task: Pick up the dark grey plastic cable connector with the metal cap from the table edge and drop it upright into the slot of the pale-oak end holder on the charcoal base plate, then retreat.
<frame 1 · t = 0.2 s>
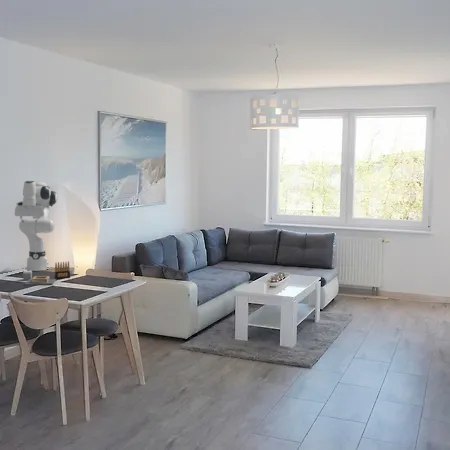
hand: (29, 222, 423), 39 cm above the table, tool pointing down, fingers open, 8 cm apart
connector: (27, 279, 414), on the table
end holder: (40, 282, 405), on the table
ammunition clip: (62, 278, 421), on the table
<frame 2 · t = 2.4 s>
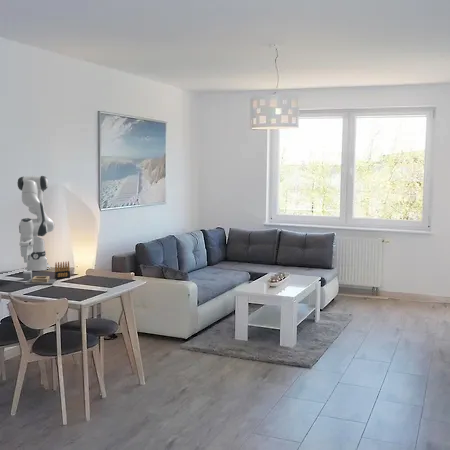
hand: (27, 261, 412), 13 cm above the table, tool pointing down, fingers open, 8 cm apart
nothing on the table moved.
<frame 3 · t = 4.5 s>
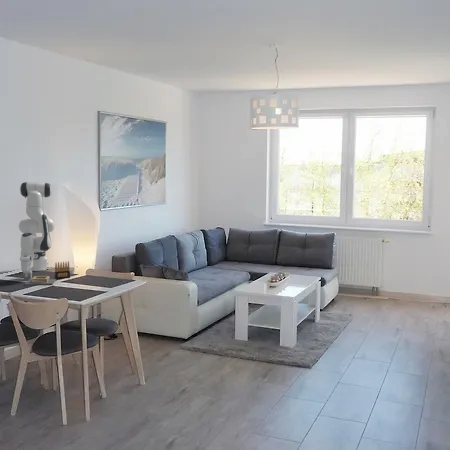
hand: (27, 275, 414), 3 cm above the table, tool pointing down, fingers closed on connector, 4 cm apart
connector: (27, 279, 414), on the table, touching gripper
everything else where it was.
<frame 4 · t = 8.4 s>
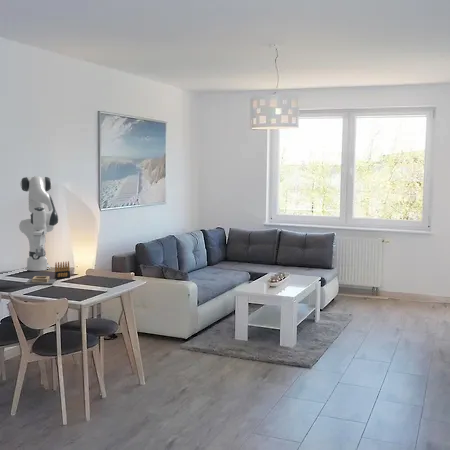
hand: (40, 251, 403), 22 cm above the table, tool pointing down, fingers closed on connector, 4 cm apart
connector: (40, 255, 403), point 19 cm above the table, touching gripper
everything else where it was.
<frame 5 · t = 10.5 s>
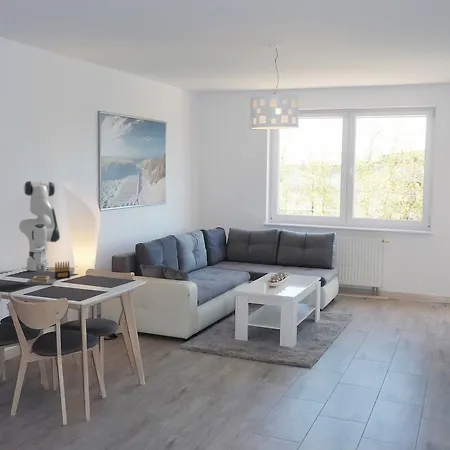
hand: (40, 268, 404), 10 cm above the table, tool pointing down, fingers closed on connector, 4 cm apart
connector: (40, 271, 404), point 8 cm above the table, touching gripper
everything else where it was.
when the fingers open (5 cm above the table, at t = 12.3 s): connector drops 1 cm, resting on end holder.
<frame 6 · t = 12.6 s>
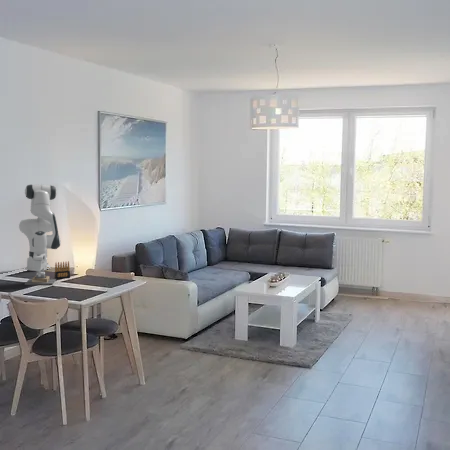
hand: (40, 275, 405), 5 cm above the table, tool pointing down, fingers open, 7 cm apart
connector: (40, 281, 405), point 1 cm above the table, touching end holder
everything else where it was.
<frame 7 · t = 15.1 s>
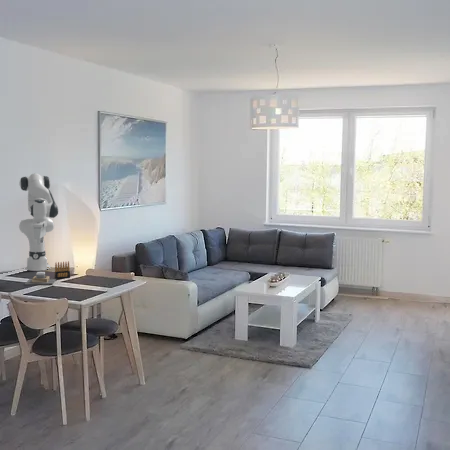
hand: (40, 243, 402), 27 cm above the table, tool pointing down, fingers open, 8 cm apart
nothing on the table moved.
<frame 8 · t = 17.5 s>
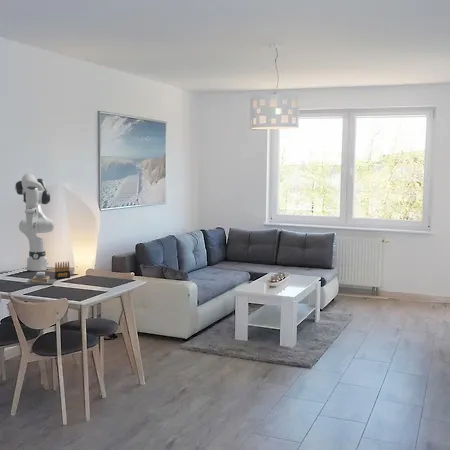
hand: (32, 229, 414), 35 cm above the table, tool pointing down, fingers open, 8 cm apart
nothing on the table moved.
at the end: connector 0.1 cm off-centre on the end holder, point 1.0 cm above the end holder's base; connector tilted 0°; the gripper is holding nothing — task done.
